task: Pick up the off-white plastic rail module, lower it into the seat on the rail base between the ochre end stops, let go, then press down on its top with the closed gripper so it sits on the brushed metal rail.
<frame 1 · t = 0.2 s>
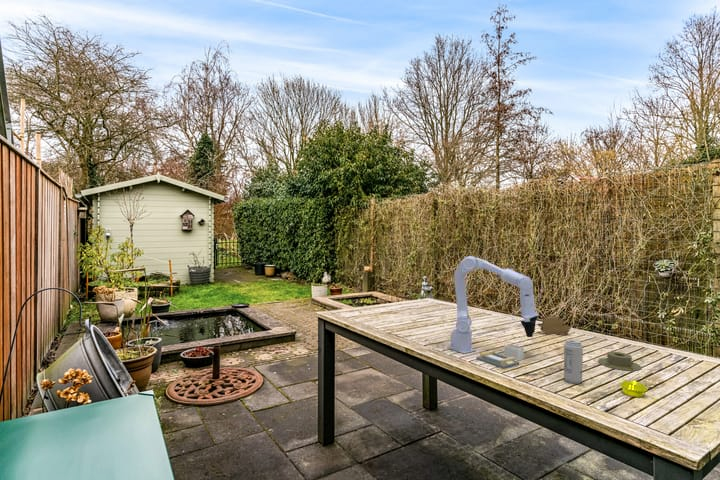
hand: (530, 334, 172), 10 cm above the table, tool pointing down, fingers open, 7 cm apart
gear: (633, 394, 134), on the table
wooden carving: (553, 334, 212), on the table
energy drink can: (572, 381, 145), on the table
rail module: (513, 357, 172), on the table
rail base: (497, 361, 166), on the table
flange: (619, 366, 164), on the table
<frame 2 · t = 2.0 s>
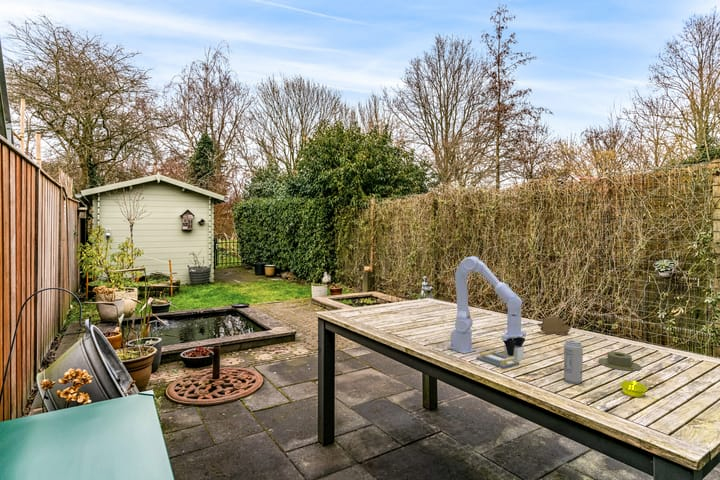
hand: (513, 354, 172), 1 cm above the table, tool pointing down, fingers closed on rail module, 4 cm apart
rail module: (513, 357, 172), on the table, touching gripper
everything else where it was.
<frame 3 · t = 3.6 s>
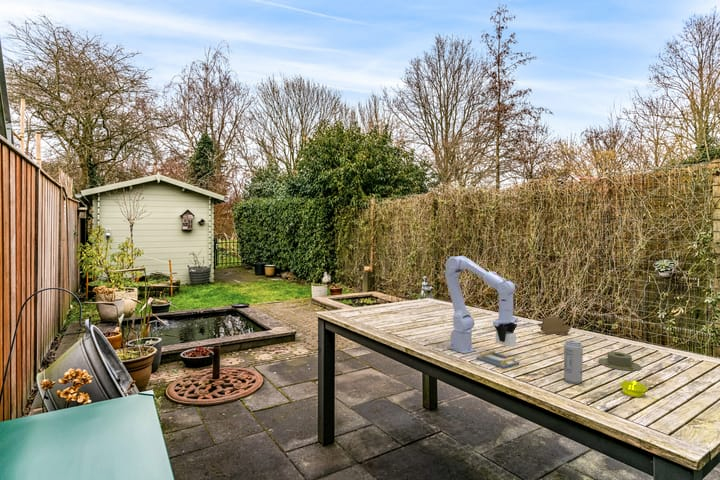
hand: (505, 340, 169), 8 cm above the table, tool pointing down, fingers closed on rail module, 4 cm apart
rail module: (505, 344, 169), point 7 cm above the table, touching gripper
everything else where it was.
when the fingers open (4 cm above the table, at t = 5.2 s): rail module stays where it is, resting on rail base.
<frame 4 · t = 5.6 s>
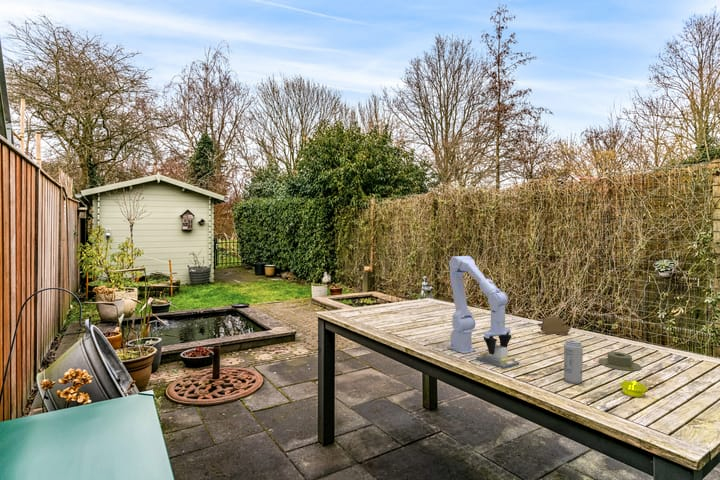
hand: (497, 352, 166), 4 cm above the table, tool pointing down, fingers open, 7 cm apart
rail module: (497, 358, 166), point 2 cm above the table, touching rail base
everything else where it was.
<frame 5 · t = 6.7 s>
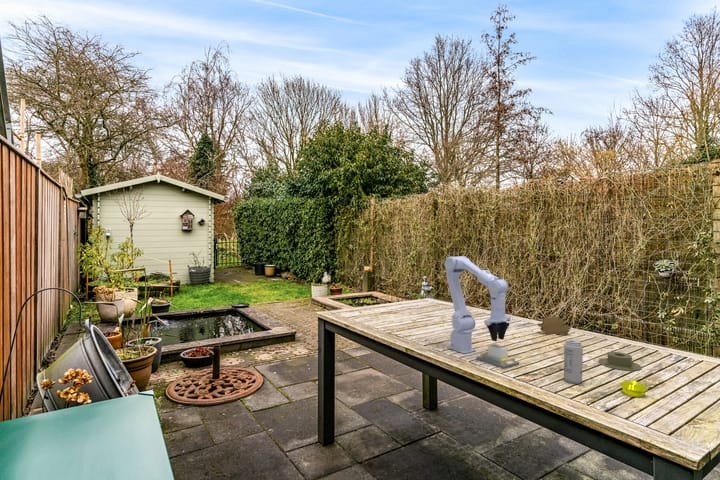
hand: (497, 339, 166), 9 cm above the table, tool pointing down, fingers open, 4 cm apart
nothing on the table moved.
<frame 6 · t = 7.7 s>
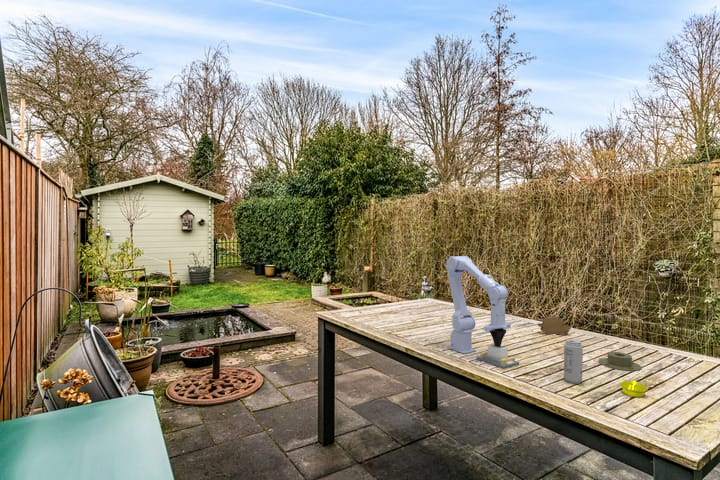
hand: (497, 346, 166), 7 cm above the table, tool pointing down, fingers closed, pressing on rail module
rail module: (497, 358, 166), point 2 cm above the table, touching gripper, rail base
everything else where it was.
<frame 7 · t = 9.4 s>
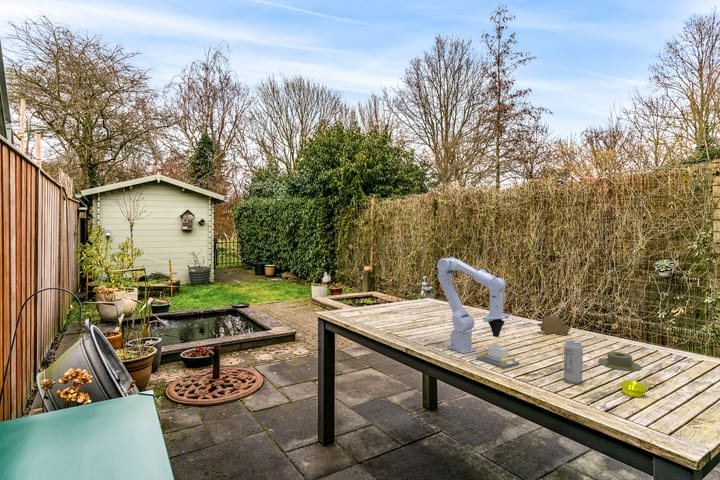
hand: (495, 336, 172), 9 cm above the table, tool pointing down, fingers closed
rail module: (497, 358, 166), point 2 cm above the table, touching rail base
everything else where it was.
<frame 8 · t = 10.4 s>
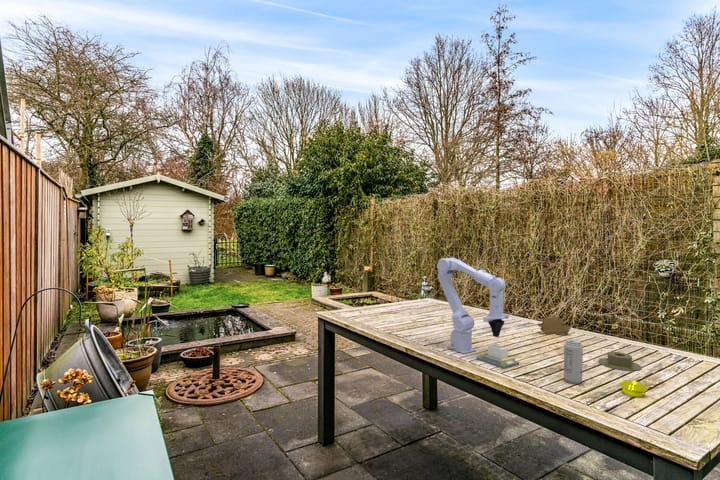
hand: (495, 336, 172), 9 cm above the table, tool pointing down, fingers closed
nothing on the table moved.
at the end: rail module 0.1 cm off-centre on the rail base, point 1.6 cm above the rail base's base; rail module tilted 0°; the gripper is holding nothing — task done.
